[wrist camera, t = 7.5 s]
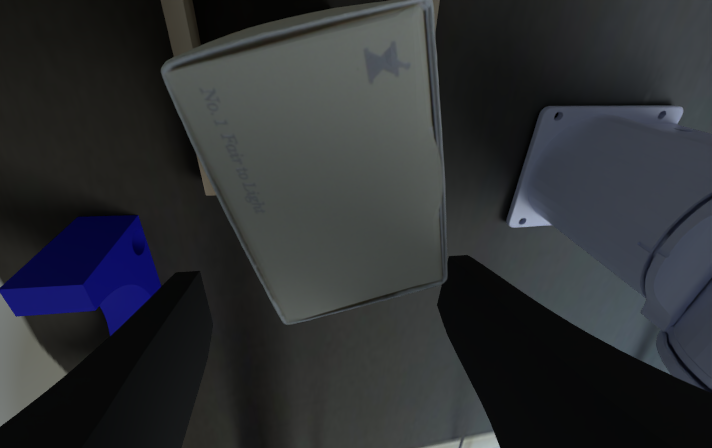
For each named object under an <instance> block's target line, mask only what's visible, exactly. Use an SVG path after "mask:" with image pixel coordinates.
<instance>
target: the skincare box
mask: <svg viewBox="0 0 712 448" xmlns="http://www.w3.org/2000/svg"><path fill="white" fill-rule="evenodd" d="M161 74H162V77H163V80H164V82H165V85H166V87H167V89H168V92H169V94H170V96H171V99H172V101H173V103H174V105H175V108H176V110H177V113H178V115H179V117H180V119H181V120H182V123H183V125H184V127H185V130H186V132H187V135H188V137H189V139H190V142H191V144H192V146H193V148H194V150H195V152H196V154H197V156H198V158H199V160H200V162H201V164H202V167H203V169H204V171H205V173H206V175H207V177H208V179H209V181H210V183H211V185H212V187H213V189H214V191H215V193H216V195H217V197H218V199H219V202H220V204H221V206H222V208H223V210H224V212H225V214H226V216H227V218H228V220H229V222H230V224H231V225H232V227H233V229H234V231H235V233H236V235H237V237H238V239H239V241H240V243H241V245H242V248H243V249H244V251H245V253H246V255H247V257H248V259H249V260H250V262H251V264H252V266H253V268H254V270H255V272H256V274H257V276H258V278H259V280H260V282H261V283H262V285H263V287H264V289H265V291H266V293H267V295H268V297H269V299H270V300H271V302H272V305H273V307H274V308H275V310H276V311H277V313H278V315H279V316H280V319H281V320H282V322H283V323H284V324H287V325H289V324H295V323H299V322H303V321H307V320H311V319H315V318H318V317H322V316H326V315H330V314H334V313H338V312H342V311H346V310H350V309H353V308H357V307H362V306H365V305H369V304H372V303H377V302H380V301H384V300H388V299H392V298H395V297H399V296H403V295H406V294H409V293H413V292H418V291H422V290H425V289H428V288H432V287H436V286H439V285H441V284H443V283H444V282H445V281H446V280H447V276H448V271H447V234H446V193H445V170H444V156H443V141H442V123H441V110H440V96H439V77H438V67H437V50H436V40H435V19H434V6H433V0H388V1H381V2H374V3H366V4H360V5H353V6H346V7H338V8H332V9H327V10H322V11H317V12H312V13H307V14H302V15H298V16H294V17H289V18H285V19H281V20H276V21H272V22H268V23H265V24H261V25H257V26H254V27H250V28H247V29H244V30H241V31H238V32H235V33H232V34H229V35H227V36H224V37H221V38H218V39H216V40H213V41H211V42H208V43H206V44H203V45H201V46H199V47H196V48H193V49H191V50H189V51H187V52H185V53H182V54H180V55H178V56H175V57H173V58H171V59H169V60H167V61H166V62H165V63H164V64H163V66H162V68H161Z"/></svg>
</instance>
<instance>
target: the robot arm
mask: <svg viewBox="0 0 712 448" xmlns="http://www.w3.org/2000/svg"><path fill="white" fill-rule="evenodd" d="M557 112H558V116H557V117H556V118H555V119H554V116H555V114H556V113H557ZM659 113H660V114H659ZM682 114H683V108H682V107H680V106H675V105H643V106H547V107H545V108H543V110H542V111H541V112H540V114H539V117H538V120H537V123H536V126H535V129H534V133H533V136H532V139H531V142H530V145H529V149H528V152H527V155H526V158H525V162H524V165H523V168H522V171H521V174H520V178H519V181H518V184H517V187H516V190H515V194H514V197H513V200H512V203H511V207H510V210H509V213H508V216H507V219H506V223H507V224H508V225H509V226H510V227H512V228H516V227H531V226H546V225H553V226H554V227H555V228H557V229H558V230H559V231H560V232H562V233H563V234H564V235H565V236H567V237H568V238H569V239H571V240H572V241H573V242H574V243H576V244H577V245H578V246H580V247H581V248H582V249H583V250H585V251H586V252H587V253H588V254H590V255H591V256H592V257H594V258H595V259H596V260H597V261H599V262H600V263H601V264H602V265H604V266H605V267H606V268H608V269H609V270H610V271H611V272H613V273H614V274H615V275H616V276H618V277H619V278H620V279H622V280H623V281H624V282H625V283H627V284H628V285H629V286H631V287H632V288H633V289H634V290H636V291H637V292H638V293H639V294H641V295H642V296H643V297H645V298H646V302H645V304H644V306H643V308H642V310H641V314H643V315H644V316H645V317H646V318H647V319H649V320H650V321H651V322H652V323H653V324H655V325H656V326H657V327H658V328H659V329H661V330H660V331H659V333H658V335H657V340H656V346H657V350H658V353H659V355H660V357H661V359H662V362H663V363H664V365H665V366H666V368H667V369H668V371H669V372H670V374H671V375H670V374H668V373H666V372H663V371H661V370H659V369H657V368H655V367H653V366H651V365H649V364H647V363H644V362H642V361H640V360H638V359H636V358H634V357H632V356H630V355H628V354H626V353H624V352H622V351H620V350H618V349H616V348H615V347H613V346H611V345H609V344H607V343H605V342H603V341H602V340H600V339H598V338H596V337H594V336H592V335H591V334H589V333H587V332H585V331H583V330H582V329H580V328H578V327H577V326H575V325H573V324H571V323H570V322H568V321H567V320H565V319H563V318H562V317H560V316H559V315H557V314H555V313H554V312H552V311H550V310H549V309H547V308H546V307H544V306H543V305H541V304H540V303H538V302H536V301H535V300H533V299H532V298H530V297H529V296H527V295H526V294H524V293H523V292H521V291H520V290H519V289H517V288H516V287H514V286H513V285H511V284H510V283H508V282H507V281H505V280H504V279H503V278H501V277H500V276H498V275H497V274H495V273H494V272H493V271H491V270H490V269H488V268H487V267H485V266H484V265H482V264H481V263H479V262H478V261H476V260H475V259H473V258H471V257H470V256H468V255H462V256H449V259H448V263H447V271H448V276H447V280H446V281H445V282H444V283H443V284H442V287H441V291H440V295H439V299H438V303H437V306H438V309H439V312H440V315H441V318H442V321H443V324H444V327H445V329H446V332H447V335H448V337H449V339H450V341H451V343H452V345H453V347H454V349H455V351H456V353H457V355H458V357H459V359H460V361H461V363H462V365H463V367H464V369H465V371H466V373H467V375H468V377H469V379H470V381H471V383H472V385H473V387H474V389H475V391H476V393H477V395H478V397H479V399H480V401H481V403H482V405H483V407H484V409H485V412H486V414H487V416H488V418H489V420H490V423H491V425H492V428H493V430H494V433H495V435H496V438H497V440H498V443H499V446H500V448H712V134H711V133H707V132H703V131H699V130H696V129H692V128H688V127H684V126H681V125H677V123H678V122H679V120H680V118H681V116H682ZM522 218H523V219H522ZM521 219H522V220H521ZM520 220H521V221H520ZM212 328H213V322H212V318H211V314H210V310H209V305H208V301H207V297H206V293H205V289H204V285H203V281H202V277H201V273H200V271H193V272H177V273H175V274H174V275H173V276H172V277H171V278H170V279H169V280H168V281H167V282H166V283H165V284H164V285H163V286H162V287H161V288H159V289H158V290H157V291H156V292H155V293H154V294H153V295H152V296H151V297H150V298H149V299H148V300H147V301H146V302H145V303H144V304H143V305H142V306H141V307H140V308H139V309H138V310H137V311H136V312H135V313H134V314H133V315H132V316H131V317H130V318H129V319H128V320H127V321H126V322H125V323H124V324H123V325H122V326H121V327H119V328H118V329H117V330H116V331H115V332H114V333H113V334H112V335H111V336H110V337H109V338H108V339H107V340H105V341H104V342H103V343H102V344H101V345H100V346H99V347H98V348H96V349H95V350H94V351H93V352H92V353H91V354H90V355H89V356H87V357H86V358H85V359H84V360H83V361H82V362H81V363H80V364H78V365H77V366H76V367H75V368H74V369H73V370H72V371H70V372H69V373H68V374H67V375H66V376H64V378H62V379H61V380H60V381H58V382H57V383H56V384H55V385H53V386H52V387H51V388H50V389H49V390H47V391H46V392H45V393H44V394H42V395H41V396H40V397H39V398H37V399H36V400H35V401H33V402H32V403H31V404H29V405H28V406H27V407H26V408H24V409H23V410H22V411H20V412H19V413H18V414H17V415H15V416H14V417H13V418H11V419H10V420H9V421H7V422H6V423H5V424H3V425H2V426H1V427H0V448H181V447H182V443H183V440H184V437H185V433H186V430H187V427H188V423H189V420H190V417H191V413H192V410H193V407H194V403H195V400H196V396H197V393H198V390H199V386H200V383H201V379H202V376H203V373H204V369H205V366H206V362H207V358H208V352H209V347H210V341H211V334H212Z"/></svg>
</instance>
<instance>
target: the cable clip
mask: <svg viewBox="0 0 712 448" xmlns="http://www.w3.org/2000/svg"><path fill="white" fill-rule="evenodd" d="M159 288H161V284H160V281H159V278H158V275H157V272H156V269H155V266H154V262H153V259H152V256H151V253H150V250H149V247H148V244H147V241H146V238H145V235H144V232H143V229H142V226H141V223H140V220H139V217H138V215H126V216H89V217H77V218H76V219H75V220H74V221H73V222H72V223H71V224H69V225H68V226H67V227H66V228H65V229H64V230H63V231H62V232H61V233H60V234H59V235H57V236H56V237H55V238H54V239H53V240H52V241H51V242H50V243H49V244H48V245H46V246H45V247H44V248H43V249H42V250H41V251H40V252H39V253H38V254H37V255H36V256H34V257H33V258H32V259H31V260H30V261H29V262H28V263H27V264H26V265H25V266H23V267H22V268H21V269H20V270H19V271H18V272H17V273H16V274H15V275H14V276H13V277H11V278H10V279H9V280H8V281H7V282H6V283H5V284H4V285H3V286H2V287H0V293H1V295H2V296H3V298H4V299H5V301H6V302H7V304H8V305H9V307H10V308H11V310H12V311H13V313H14V314H15V316H29V315H43V314H56V313H70V312H84V311H96V309H97V308H98V307H99V306H100V308H101V309H102V311H103V313H104V315H105V318H106V321H107V324H108V328H109V333H110V336H111V335H112V334H113V333H114V332H115V331H116V330H117V329H118V328H119V327H121V326H122V325H123V324H124V323H125V322H126V321H127V320H128V319H129V318H130V317H131V316H132V315H133V314H134V313H135V312H136V311H137V310H138V309H139V308H140V307H141V306H142V305H143V304H144V303H145V302H146V301H147V300H148V299H149V298H150V297H151V296H152V295H153V294H154V293H155V292H156V291H157V290H158V289H159Z"/></svg>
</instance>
